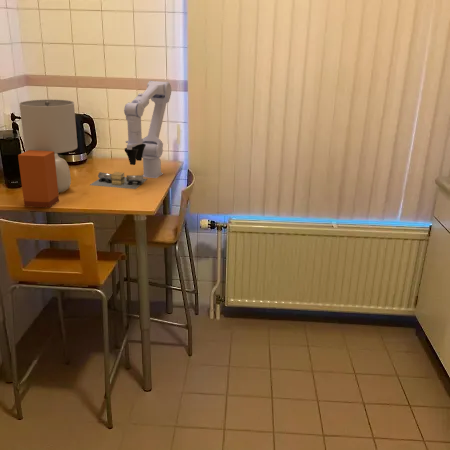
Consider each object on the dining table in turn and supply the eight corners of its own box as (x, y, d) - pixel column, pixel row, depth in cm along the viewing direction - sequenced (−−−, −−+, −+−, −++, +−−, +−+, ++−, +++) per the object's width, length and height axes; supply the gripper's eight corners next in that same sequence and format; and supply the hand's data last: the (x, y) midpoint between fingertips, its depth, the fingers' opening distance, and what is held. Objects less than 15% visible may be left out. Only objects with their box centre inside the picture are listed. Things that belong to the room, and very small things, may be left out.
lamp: (28, 199, 196) (16, 105, 183) (32, 185, 214) (21, 98, 201) (81, 196, 201) (73, 104, 188) (81, 182, 219) (73, 97, 206)
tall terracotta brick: (59, 200, 196) (54, 150, 189) (49, 208, 188) (44, 156, 181) (35, 198, 197) (29, 149, 190) (24, 206, 189) (17, 155, 181)
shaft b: (126, 186, 216) (126, 176, 215) (127, 183, 220) (127, 174, 218) (142, 186, 217) (142, 176, 215) (143, 183, 220) (143, 174, 219)
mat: (104, 176, 229) (104, 175, 229) (147, 180, 226) (147, 178, 226) (89, 186, 215) (89, 185, 214) (135, 190, 211) (135, 188, 211)
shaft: (115, 182, 221) (115, 173, 219) (110, 184, 217) (109, 175, 216) (103, 180, 224) (102, 171, 222) (97, 182, 220) (96, 173, 219)
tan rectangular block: (115, 181, 220) (115, 171, 218) (124, 182, 219) (124, 172, 218) (111, 184, 216) (111, 174, 214) (121, 185, 215) (120, 175, 214)
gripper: (131, 127, 218) (133, 158, 223) (119, 133, 205) (120, 165, 210) (147, 128, 217) (148, 159, 222) (135, 134, 204) (136, 167, 209)
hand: (135, 162), depth 216 cm, fingers open, 7 cm apart
